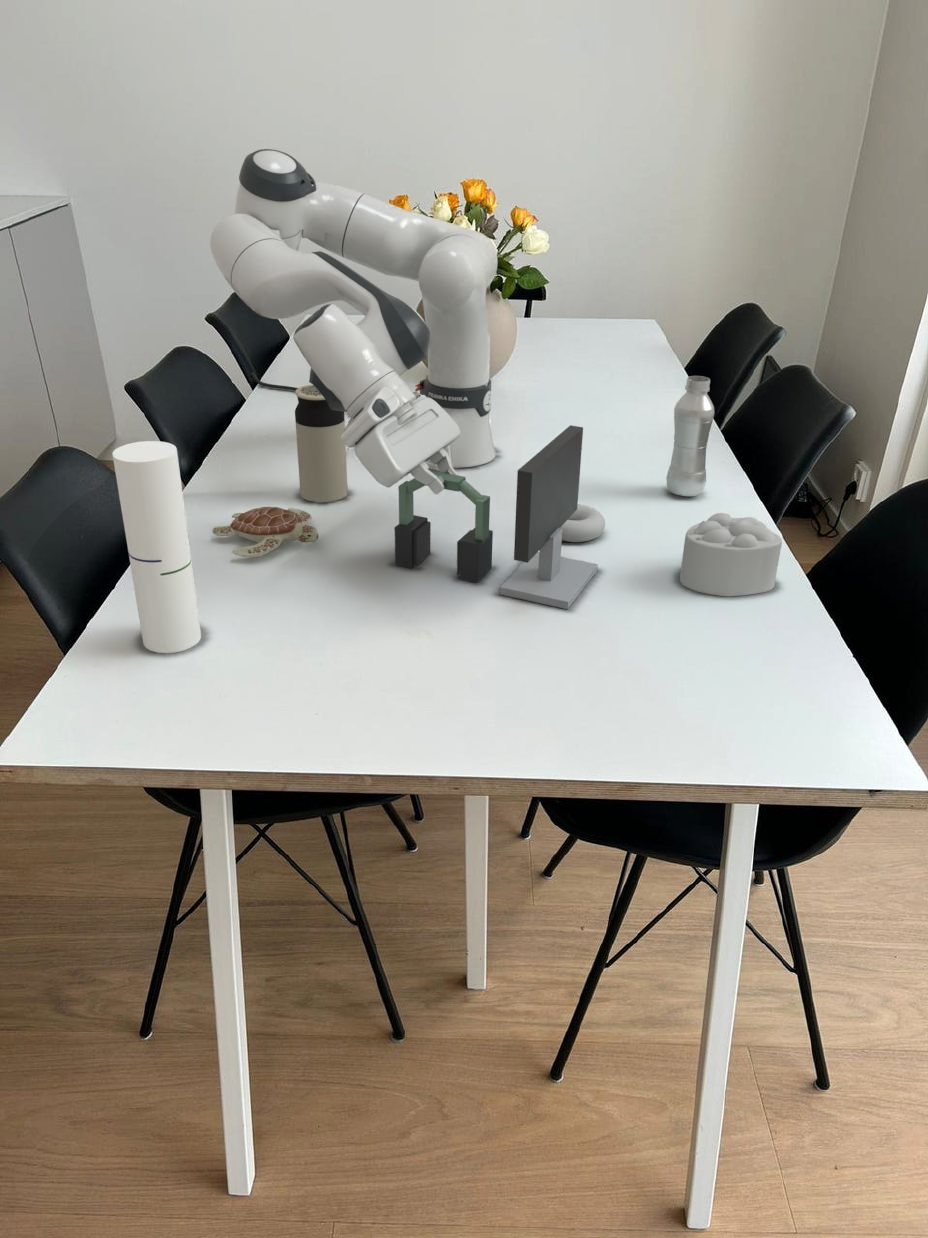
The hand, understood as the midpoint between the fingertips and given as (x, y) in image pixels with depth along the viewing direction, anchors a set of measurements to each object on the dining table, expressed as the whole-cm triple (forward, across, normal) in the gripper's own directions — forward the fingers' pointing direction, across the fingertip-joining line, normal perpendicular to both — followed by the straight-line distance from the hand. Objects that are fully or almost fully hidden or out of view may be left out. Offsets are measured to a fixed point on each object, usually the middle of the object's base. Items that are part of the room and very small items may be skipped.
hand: (447, 486), depth 142 cm
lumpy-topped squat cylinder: (+36, -14, +17) cm, 42 cm away
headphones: (+8, 0, -9) cm, 13 cm away
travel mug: (-12, -16, -31) cm, 37 cm away
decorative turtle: (-11, +3, -29) cm, 32 cm away
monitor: (+19, -2, +1) cm, 19 cm away
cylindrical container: (-7, +34, -25) cm, 43 cm away
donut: (+18, -20, 0) cm, 27 cm away
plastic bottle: (+26, -44, +8) cm, 52 cm away
